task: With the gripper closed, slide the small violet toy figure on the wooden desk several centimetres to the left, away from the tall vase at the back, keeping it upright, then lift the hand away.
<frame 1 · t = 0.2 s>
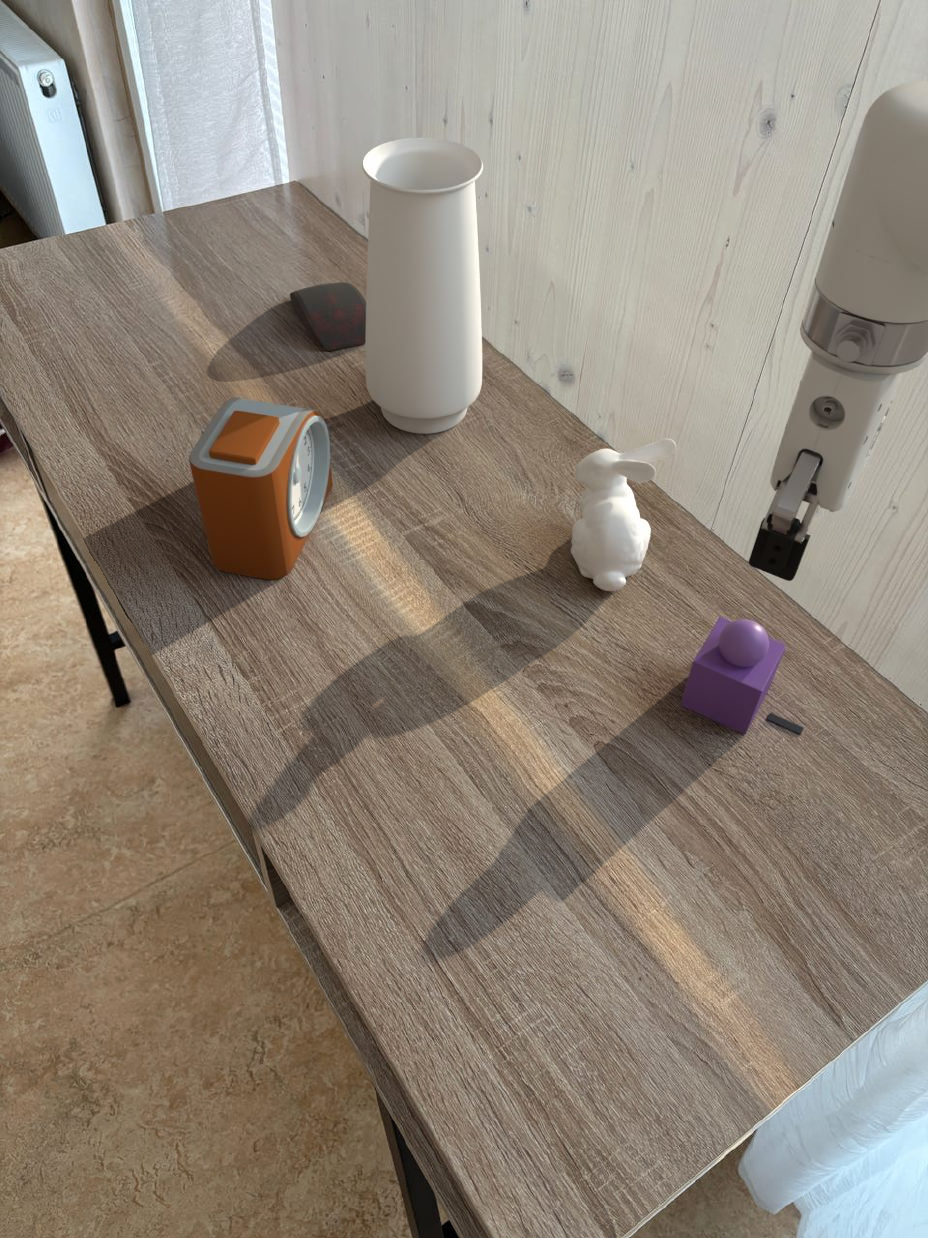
hand: (794, 530, 73), 21 cm above the table, tool pointing down, fingers open, 9 cm apart
alarm clock: (273, 527, 102), on the table
toy: (725, 696, 89), on the table
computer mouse: (330, 321, 128), on the table
vase: (424, 409, 116), on the table
rabbit: (605, 552, 101), on the table
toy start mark: (785, 723, 87), on the table
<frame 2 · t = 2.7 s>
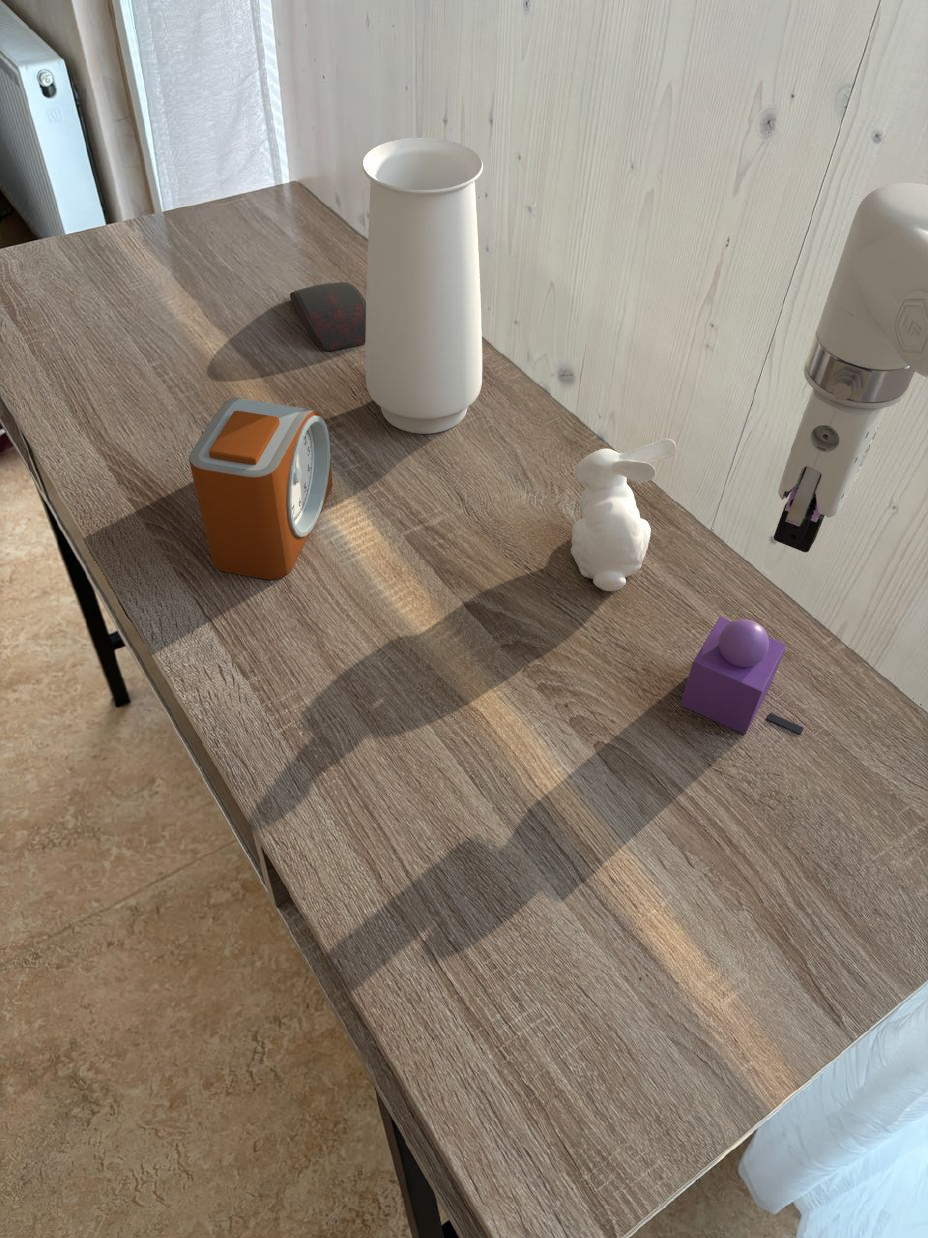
hand: (793, 540, 88), 10 cm above the table, tool pointing down, fingers closed
nothing on the table moved.
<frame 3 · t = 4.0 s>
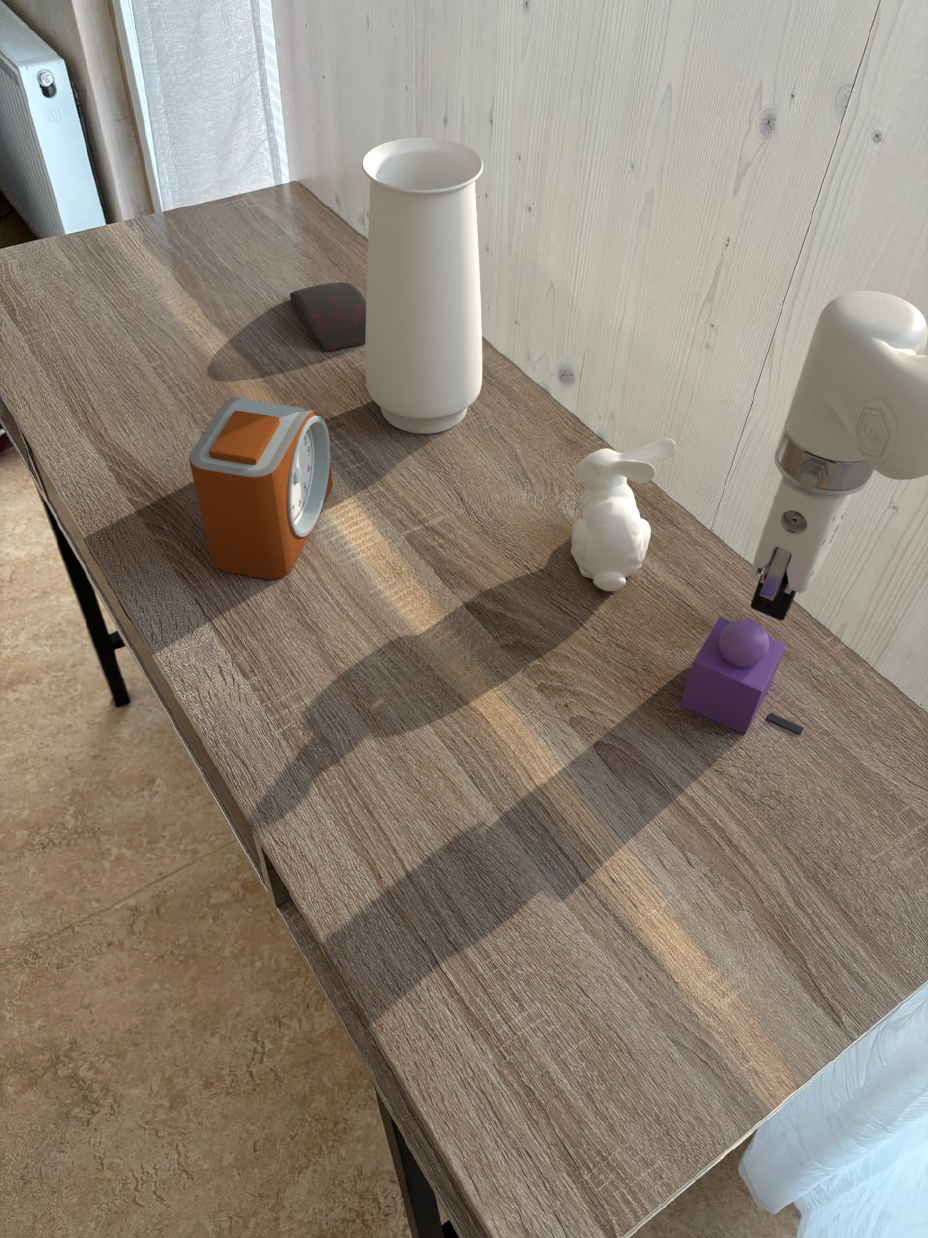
hand: (769, 608, 93), 2 cm above the table, tool pointing down, fingers closed
nothing on the table moved.
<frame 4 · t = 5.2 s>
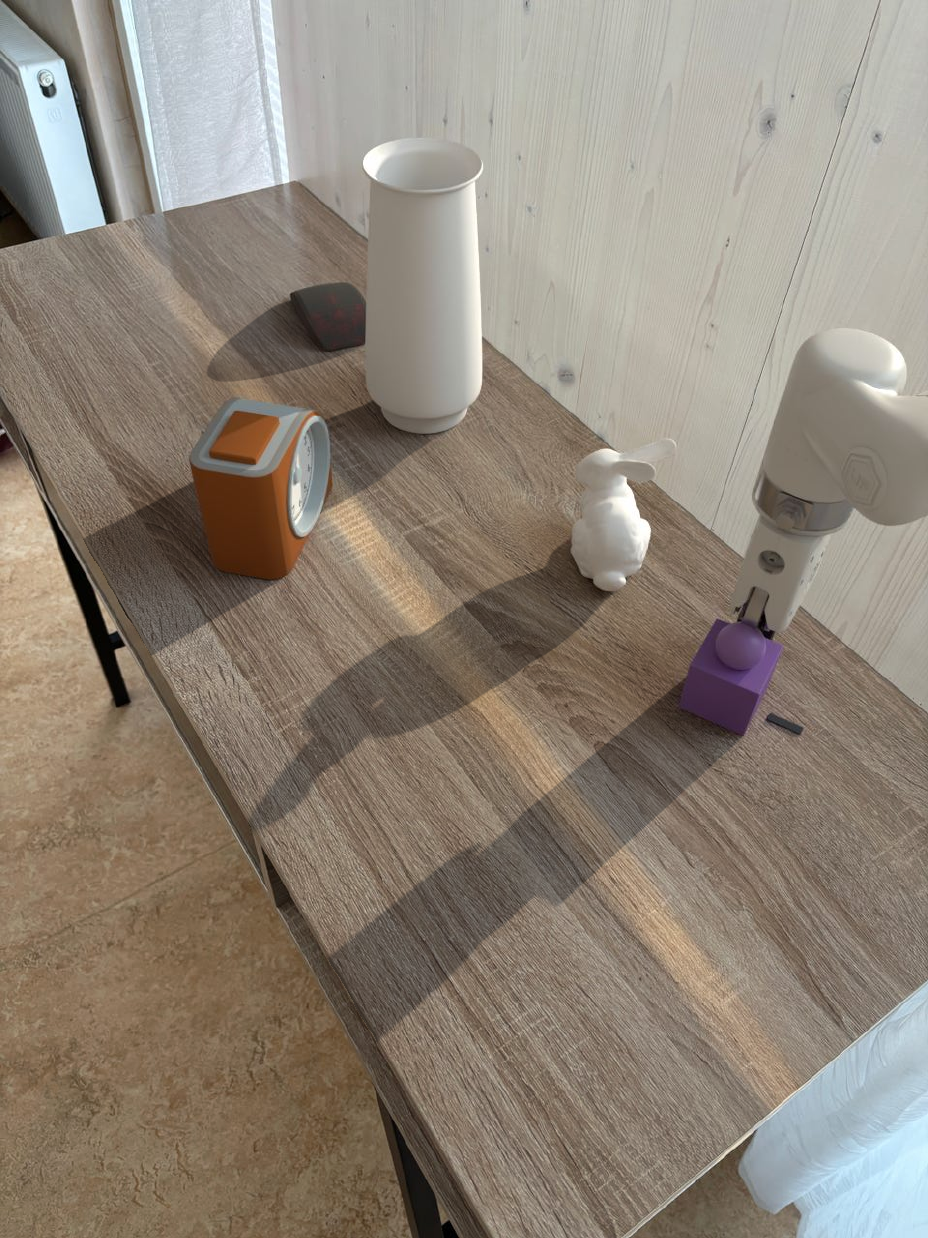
hand: (749, 644, 91), 2 cm above the table, tool pointing down, fingers closed
toy: (723, 697, 89), on the table, touching gripper
everything else where it was.
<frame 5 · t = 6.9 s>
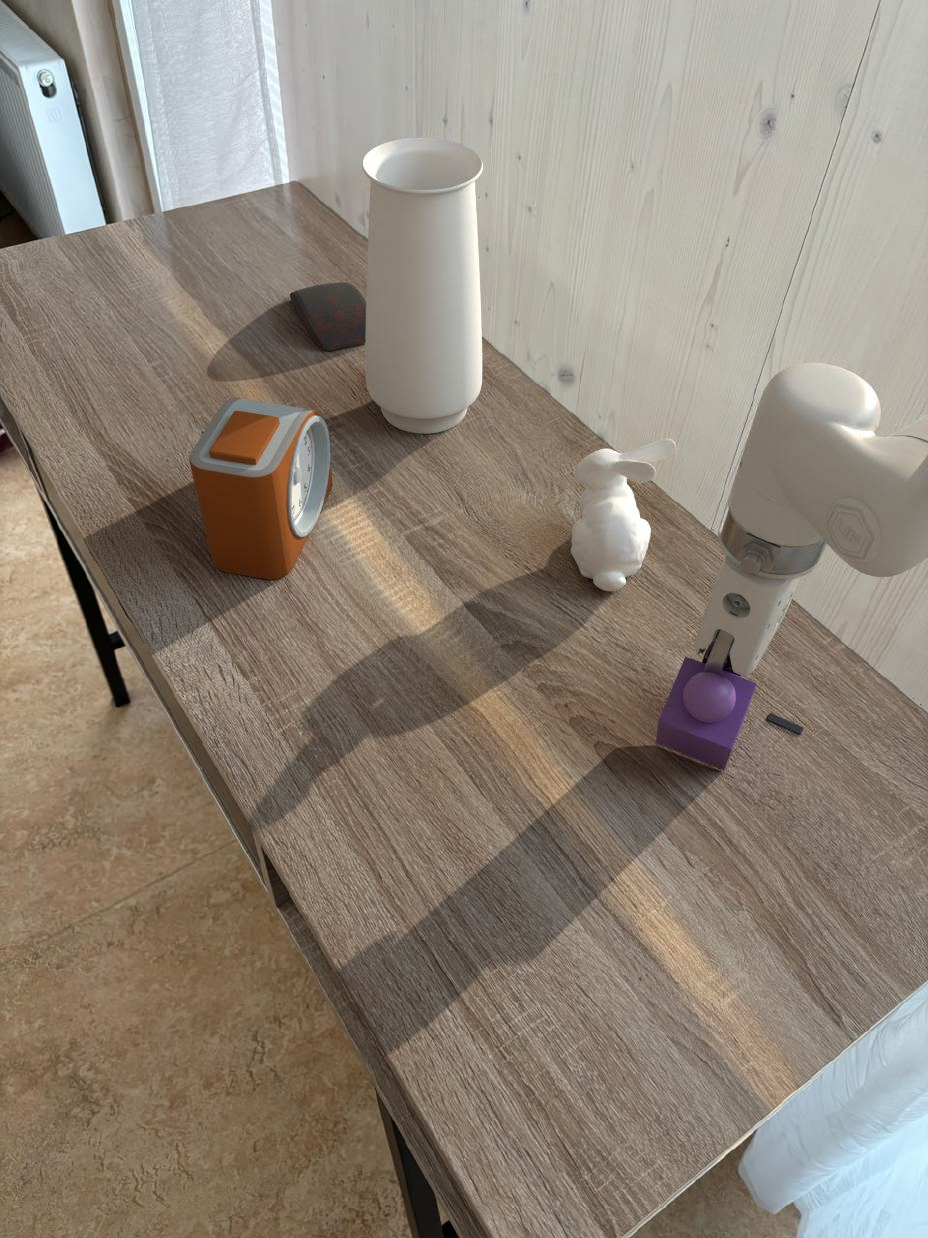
hand: (716, 682, 87), 3 cm above the table, tool pointing down, fingers closed
toy: (702, 725, 85), point 1 cm above the table, tilted 20°, touching gripper
everything else where it was.
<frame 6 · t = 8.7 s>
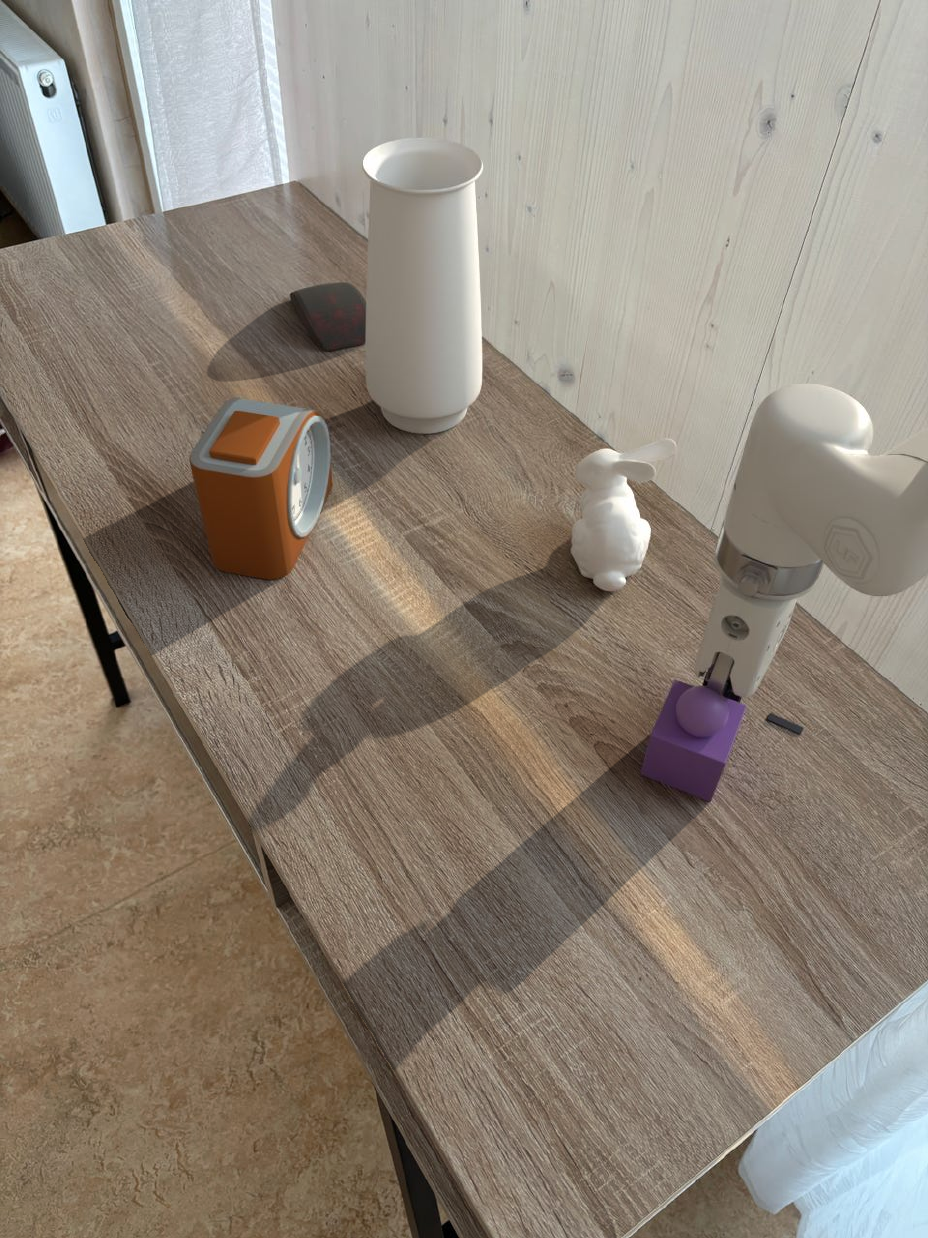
hand: (717, 704, 86), 2 cm above the table, tool pointing down, fingers closed
toy: (686, 760, 84), on the table, touching gripper
everything else where it was.
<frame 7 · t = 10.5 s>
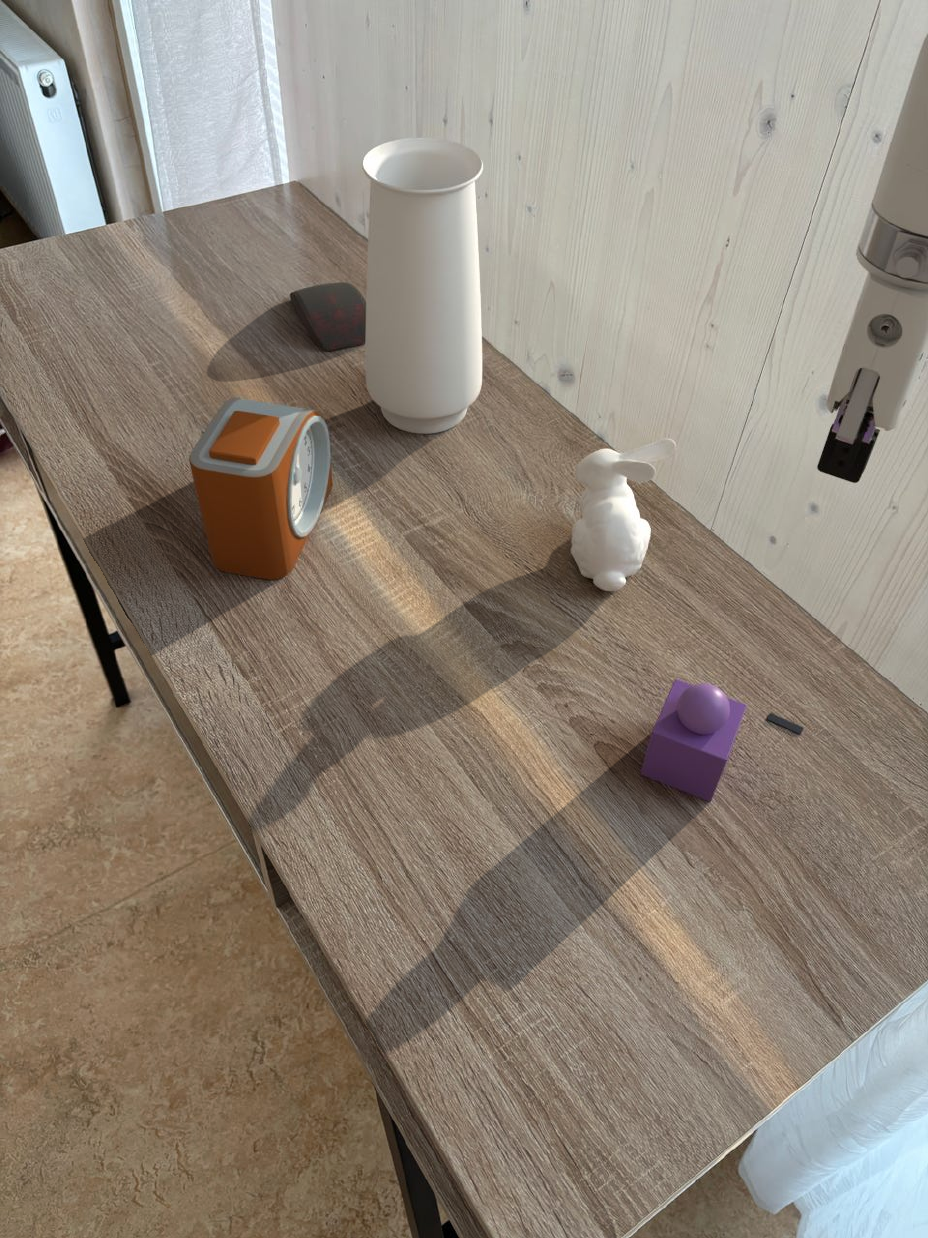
hand: (839, 470, 77), 21 cm above the table, tool pointing down, fingers closed
toy: (686, 761, 84), on the table
everything else where it was.
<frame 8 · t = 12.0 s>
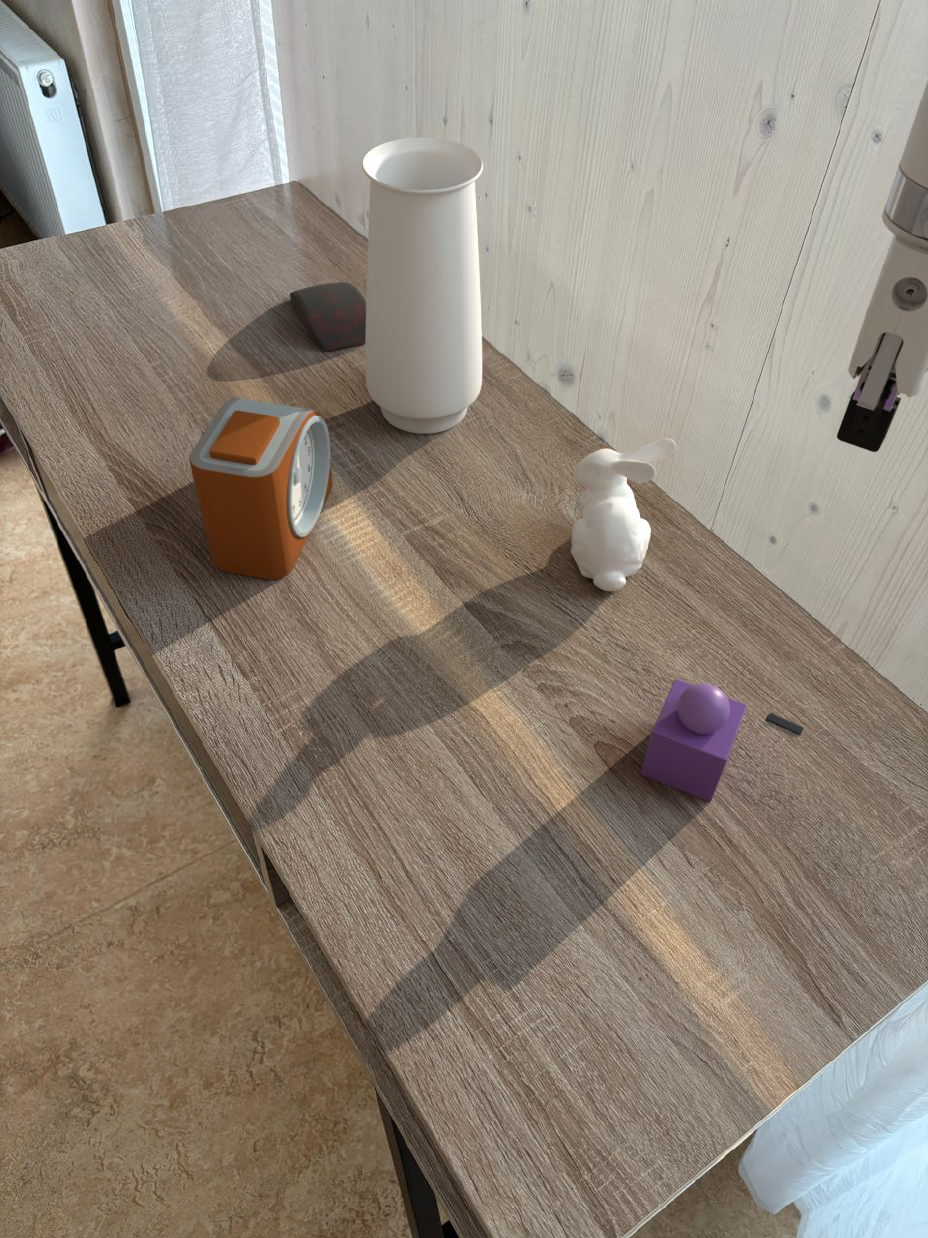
hand: (859, 440, 76), 23 cm above the table, tool pointing down, fingers closed
nothing on the table moved.
at the end: toy tilted 0°; the gripper is holding nothing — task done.
